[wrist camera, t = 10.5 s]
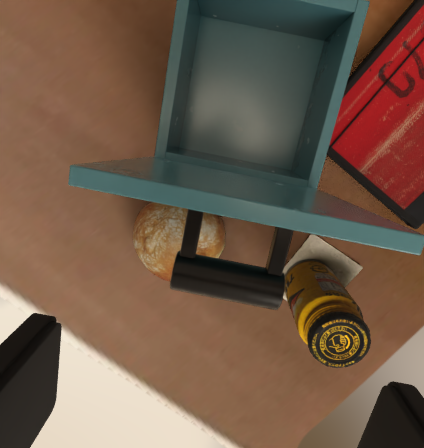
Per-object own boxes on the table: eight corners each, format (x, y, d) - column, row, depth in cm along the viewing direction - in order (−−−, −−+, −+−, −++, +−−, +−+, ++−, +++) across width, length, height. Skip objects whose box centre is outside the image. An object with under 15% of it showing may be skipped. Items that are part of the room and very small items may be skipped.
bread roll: (216, 189, 41) (202, 169, 33) (240, 271, 39) (231, 270, 31) (141, 214, 42) (111, 200, 34) (161, 294, 40) (134, 299, 32)
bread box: (194, 6, 32) (182, -38, 24) (333, 35, 33) (370, 0, 24) (171, 153, 36) (153, 160, 28) (295, 178, 36) (315, 193, 28)
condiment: (267, 288, 40) (283, 351, 28) (311, 232, 38) (348, 276, 26) (315, 319, 41) (350, 393, 29) (361, 266, 39) (418, 323, 27)
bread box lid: (69, 164, 13) (57, 286, 14) (428, 236, 13) (387, 351, 14) (153, 156, 27) (144, 215, 28) (318, 189, 27) (303, 246, 28)
